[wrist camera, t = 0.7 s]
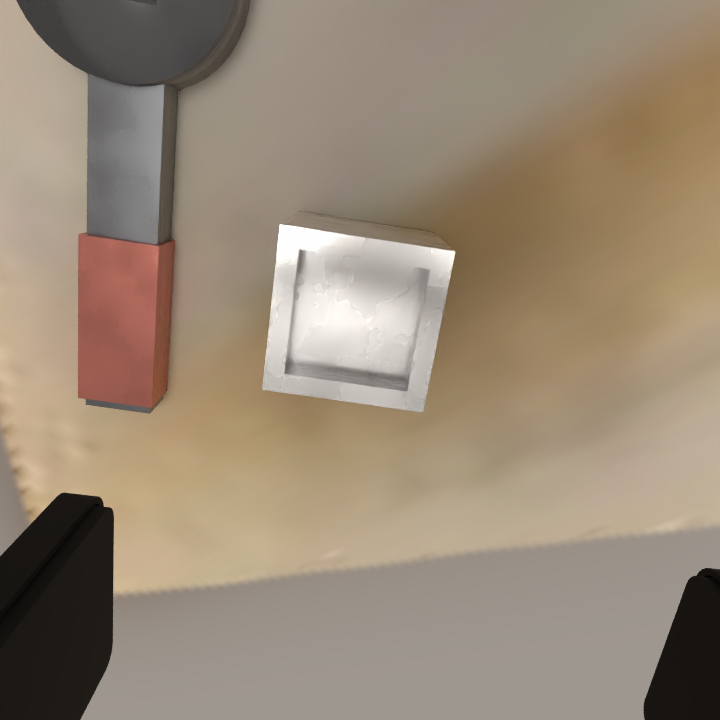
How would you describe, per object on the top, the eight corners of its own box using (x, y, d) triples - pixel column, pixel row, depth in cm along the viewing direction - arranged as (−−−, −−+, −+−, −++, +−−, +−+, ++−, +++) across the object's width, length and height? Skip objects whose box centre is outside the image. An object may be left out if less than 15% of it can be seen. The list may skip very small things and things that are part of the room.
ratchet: (217, 406, 31) (177, 469, 25) (47, 382, 31) (-38, 440, 24) (260, -127, 24) (221, -240, 17) (39, -167, 24) (-87, -298, 17)
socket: (299, 211, 28) (279, 224, 22) (433, 232, 29) (455, 251, 22) (284, 341, 30) (262, 389, 24) (410, 359, 31) (423, 412, 24)
